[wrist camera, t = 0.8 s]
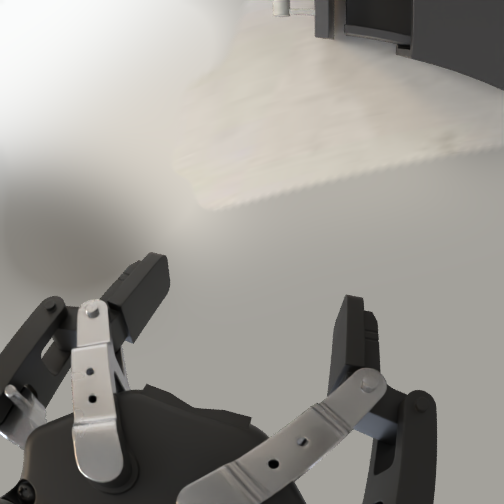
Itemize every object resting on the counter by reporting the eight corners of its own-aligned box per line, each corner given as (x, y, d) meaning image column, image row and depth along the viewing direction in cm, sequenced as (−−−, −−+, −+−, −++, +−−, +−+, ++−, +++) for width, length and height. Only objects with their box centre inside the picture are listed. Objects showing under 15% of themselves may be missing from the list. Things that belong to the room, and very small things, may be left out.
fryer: (395, 54, 24) (411, 58, 17) (395, -40, 16) (408, -65, 9) (504, 90, 20) (543, 111, 14) (509, 1, 12) (549, -2, 5)
